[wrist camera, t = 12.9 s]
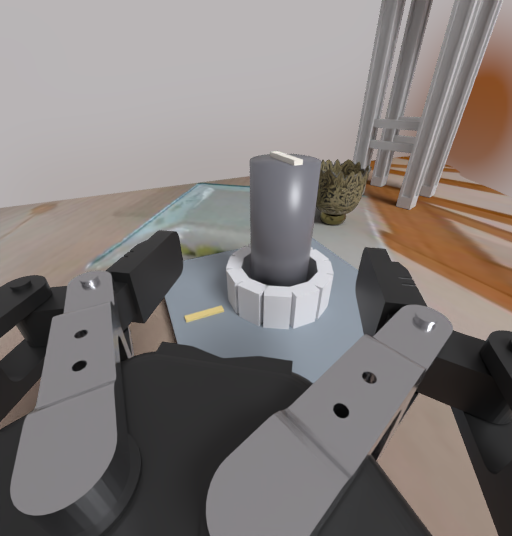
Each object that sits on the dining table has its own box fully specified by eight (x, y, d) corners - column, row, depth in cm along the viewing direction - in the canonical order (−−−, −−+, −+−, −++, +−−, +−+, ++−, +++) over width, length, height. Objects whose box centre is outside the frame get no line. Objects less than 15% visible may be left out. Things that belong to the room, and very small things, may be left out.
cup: (298, 214, 42) (303, 160, 38) (340, 210, 44) (349, 157, 39) (321, 235, 36) (329, 172, 32) (369, 228, 38) (384, 168, 33)
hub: (158, 274, 28) (150, 239, 26) (306, 241, 34) (310, 211, 32) (206, 450, 14) (197, 405, 12) (439, 341, 20) (461, 299, 18)
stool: (371, 179, 60) (424, -58, 41) (450, 194, 50) (565, -103, 32) (331, 193, 51) (375, -100, 32) (417, 216, 41) (552, -181, 23)
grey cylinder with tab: (243, 286, 25) (239, 152, 19) (287, 274, 26) (297, 147, 20) (265, 318, 21) (269, 165, 15) (315, 302, 23) (337, 158, 17)
